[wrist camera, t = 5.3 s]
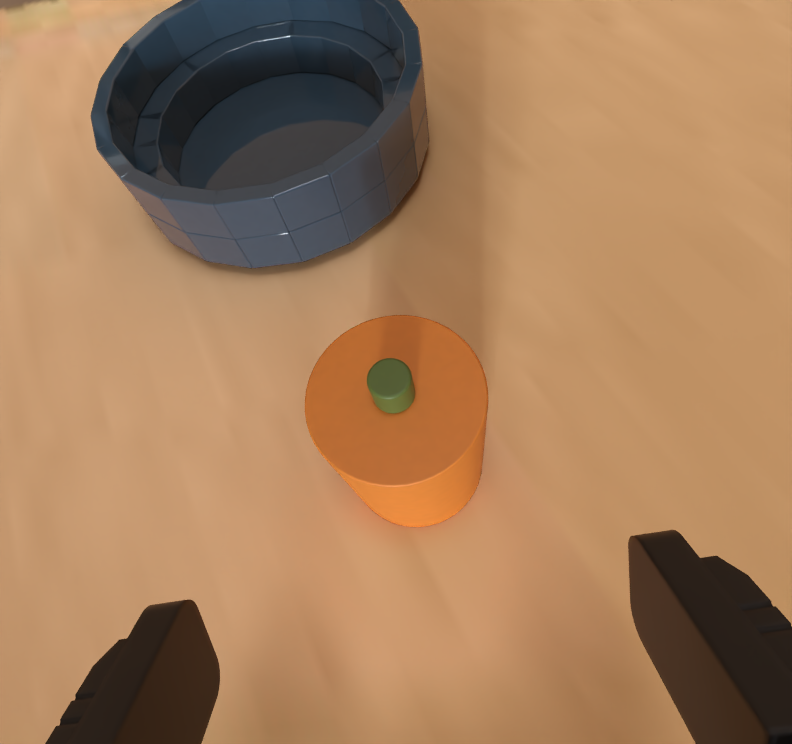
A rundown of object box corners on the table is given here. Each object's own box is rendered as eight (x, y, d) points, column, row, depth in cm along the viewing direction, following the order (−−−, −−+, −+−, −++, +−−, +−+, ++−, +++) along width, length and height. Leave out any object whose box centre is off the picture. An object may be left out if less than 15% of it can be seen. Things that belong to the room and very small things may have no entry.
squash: (336, 509, 21) (263, 451, 14) (371, 389, 23) (325, 280, 15) (467, 542, 20) (467, 498, 12) (493, 412, 22) (506, 307, 14)
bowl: (100, 251, 28) (30, 181, 23) (213, 52, 34) (174, -35, 29) (386, 296, 25) (367, 225, 20) (456, 67, 31) (454, -29, 26)
